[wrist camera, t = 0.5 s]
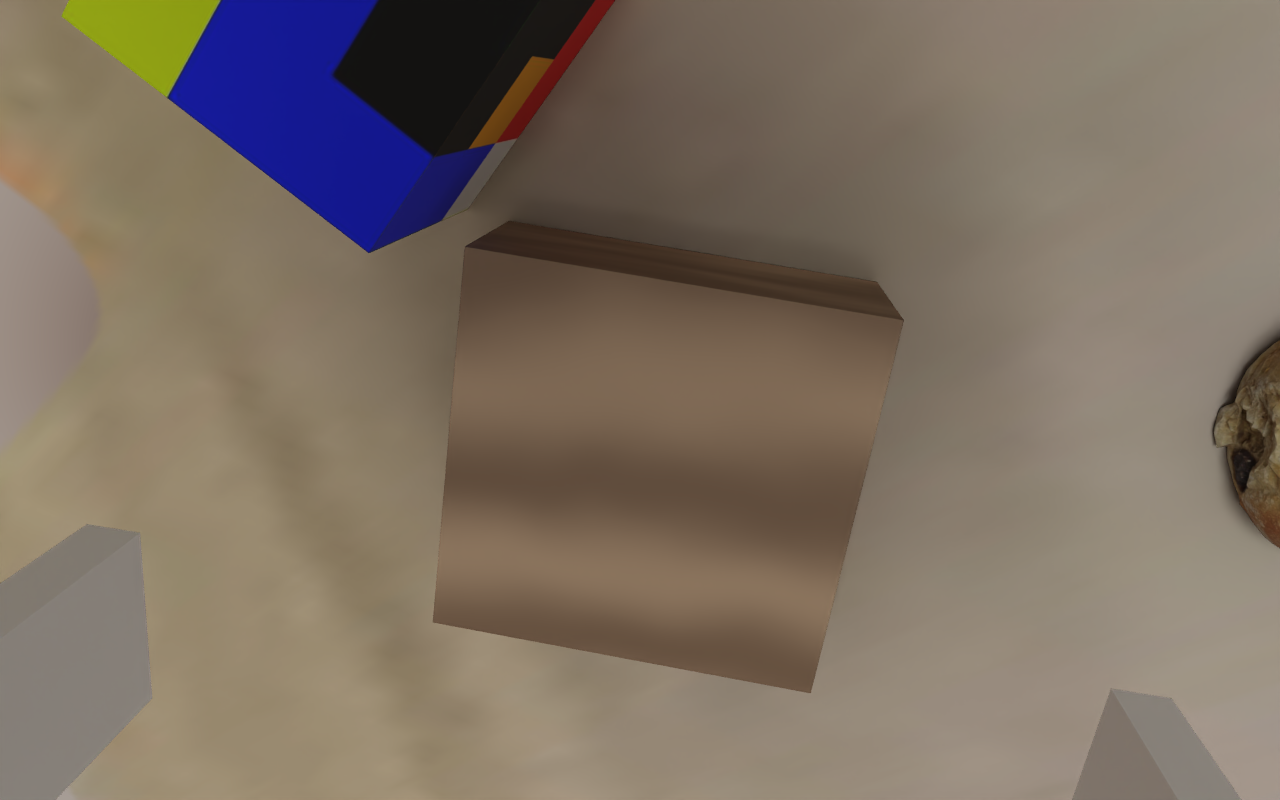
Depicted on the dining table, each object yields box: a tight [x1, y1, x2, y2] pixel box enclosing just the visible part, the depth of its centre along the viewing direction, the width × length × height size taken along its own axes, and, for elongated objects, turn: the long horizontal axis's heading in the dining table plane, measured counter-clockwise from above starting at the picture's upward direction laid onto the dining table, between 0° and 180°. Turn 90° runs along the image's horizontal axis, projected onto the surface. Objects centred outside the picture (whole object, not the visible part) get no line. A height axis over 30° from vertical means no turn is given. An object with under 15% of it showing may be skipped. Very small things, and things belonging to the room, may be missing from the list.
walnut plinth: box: [433, 221, 904, 693], centre depth 34 cm, size 14×14×6 cm
